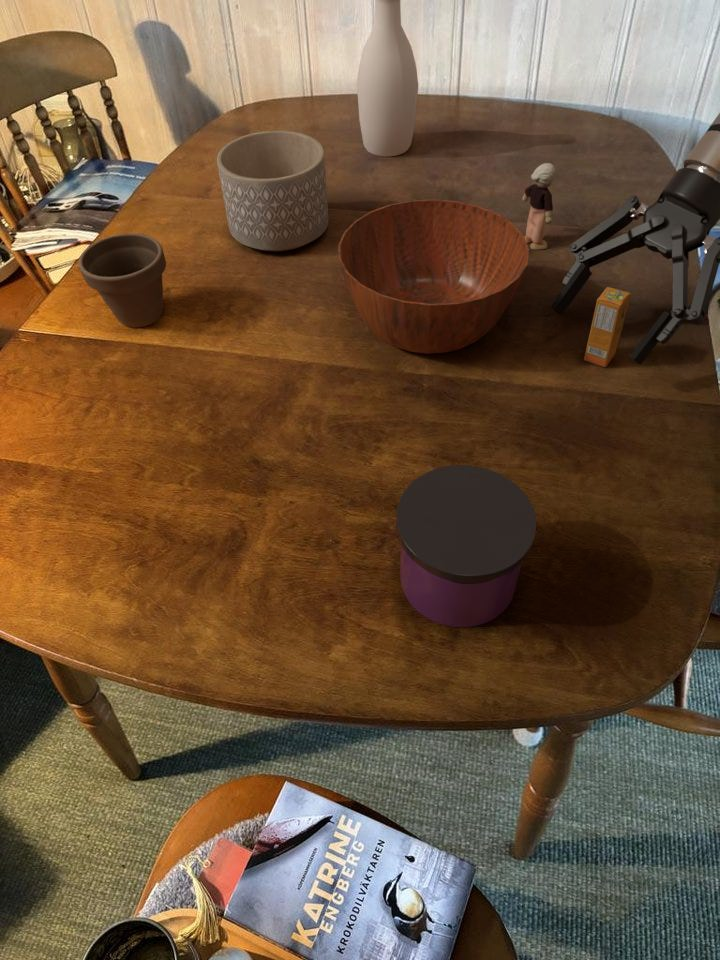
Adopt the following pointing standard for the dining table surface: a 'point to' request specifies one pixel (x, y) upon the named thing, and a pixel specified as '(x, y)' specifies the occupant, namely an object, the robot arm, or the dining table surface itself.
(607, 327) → the supplement box
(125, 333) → the dining table surface
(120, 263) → the flower pot
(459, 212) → the bowl
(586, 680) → the dining table surface
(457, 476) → the jar
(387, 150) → the bottle
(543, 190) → the grandmother figurine
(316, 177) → the planter
